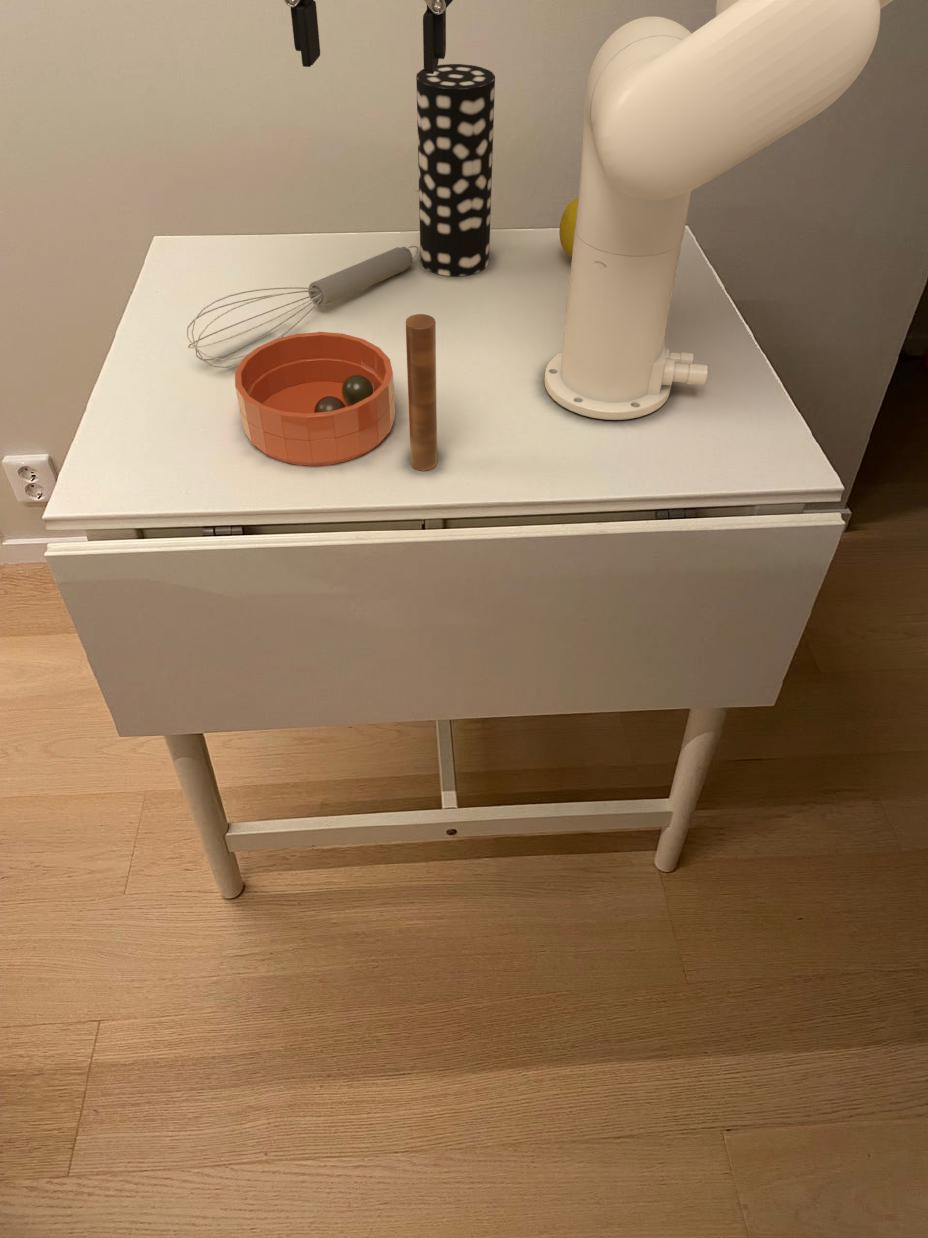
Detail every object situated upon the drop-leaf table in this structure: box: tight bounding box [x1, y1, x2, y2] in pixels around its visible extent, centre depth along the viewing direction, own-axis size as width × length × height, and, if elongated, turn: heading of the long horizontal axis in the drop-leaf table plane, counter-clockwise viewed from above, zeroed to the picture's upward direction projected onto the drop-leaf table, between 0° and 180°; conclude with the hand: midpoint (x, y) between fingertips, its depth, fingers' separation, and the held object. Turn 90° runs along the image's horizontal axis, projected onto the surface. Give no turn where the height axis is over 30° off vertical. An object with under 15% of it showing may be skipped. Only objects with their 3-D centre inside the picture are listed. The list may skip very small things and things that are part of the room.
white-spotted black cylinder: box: [415, 63, 496, 277], centre depth 104 cm, size 8×8×20 cm
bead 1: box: [314, 396, 345, 413], centre depth 85 cm, size 3×3×3 cm
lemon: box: [558, 197, 578, 258], centre depth 109 cm, size 6×6×8 cm
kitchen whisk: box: [186, 245, 419, 369], centre depth 100 cm, size 6×34×6 cm, turn 142°
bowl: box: [234, 331, 396, 467], centre depth 86 cm, size 14×14×6 cm
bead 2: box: [342, 375, 373, 406], centre depth 88 cm, size 3×3×3 cm
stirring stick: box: [405, 313, 438, 472], centre depth 79 cm, size 2×2×14 cm
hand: (371, 64), depth 73 cm, fingers open, 9 cm apart
